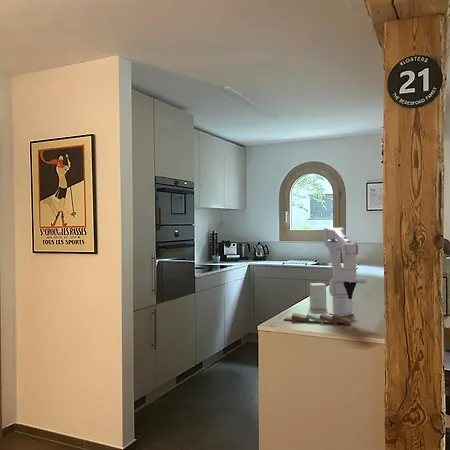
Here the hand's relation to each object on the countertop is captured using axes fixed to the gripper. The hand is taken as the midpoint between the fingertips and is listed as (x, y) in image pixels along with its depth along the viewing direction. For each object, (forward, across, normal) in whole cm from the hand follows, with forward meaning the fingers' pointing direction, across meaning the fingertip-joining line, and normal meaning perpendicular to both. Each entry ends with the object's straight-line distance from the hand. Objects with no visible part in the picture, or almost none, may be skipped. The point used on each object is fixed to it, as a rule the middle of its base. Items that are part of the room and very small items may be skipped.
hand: (350, 298), depth 213 cm
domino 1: (+10, -21, -6) cm, 24 cm away
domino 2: (+10, -18, -6) cm, 21 cm away
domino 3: (+10, -11, -5) cm, 15 cm away
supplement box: (+10, -20, +26) cm, 34 cm away
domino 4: (+10, -5, -6) cm, 12 cm away
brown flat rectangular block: (+10, +1, -6) cm, 11 cm away
